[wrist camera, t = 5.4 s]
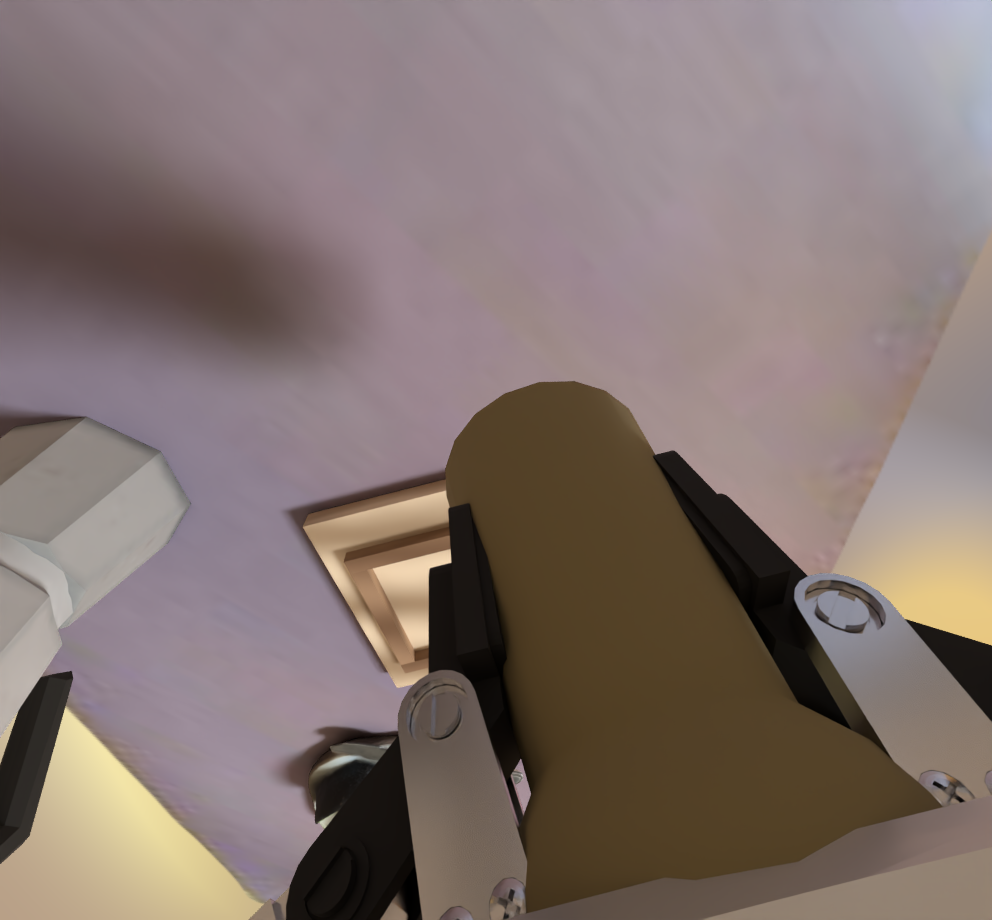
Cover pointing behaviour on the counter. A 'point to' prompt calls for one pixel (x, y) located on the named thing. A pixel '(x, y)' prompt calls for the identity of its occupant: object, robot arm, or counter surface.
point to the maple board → (388, 568)
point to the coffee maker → (63, 574)
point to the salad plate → (347, 773)
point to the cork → (642, 668)
